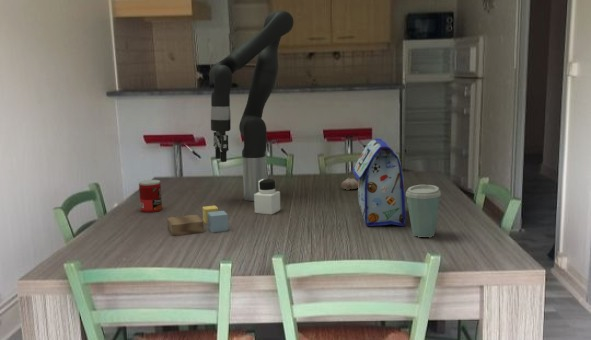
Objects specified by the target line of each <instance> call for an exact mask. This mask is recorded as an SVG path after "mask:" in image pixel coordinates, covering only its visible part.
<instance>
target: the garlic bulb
mask: <svg viewBox="0 0 591 340" xmlns="http://www.w3.org/2000/svg"><path fill="white" fill-rule="evenodd" d="M352 176H353V170H350V171H349V176H348V178H346V179H345V180H343V181H341V185H340V186H341V188H342V189H343V190H345V189H346V191H351V190H358V189H357V188H358V179H357V178H355V177H352ZM350 189H351V190H350Z"/></svg>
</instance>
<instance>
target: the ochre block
mask: <svg viewBox="0 0 591 340" xmlns="http://www.w3.org/2000/svg"><path fill="white" fill-rule="evenodd" d="M216 211H219V208H218V206H216V205H208V206H202V221H203V223H204V224H206V225H208V216H207V212H216Z"/></svg>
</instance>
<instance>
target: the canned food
mask: <svg viewBox="0 0 591 340" xmlns="http://www.w3.org/2000/svg"><path fill="white" fill-rule="evenodd" d="M138 189H139V190H138V192H139V203H140V211H142V212H143V213H156V212H159V211H162V209H163V204H162V203H163V201H162V185H161V180H158V179H146V180H145V179H144V180H140V181H139V182H138Z"/></svg>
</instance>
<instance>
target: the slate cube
mask: <svg viewBox="0 0 591 340" xmlns="http://www.w3.org/2000/svg"><path fill="white" fill-rule="evenodd" d="M207 216H208V224H207V228H208V230H209V231H210V233H213V234H214V233H221V232H228V231H229V215H228V213H227V212H226V211H225V210H218V211H216V212H207Z"/></svg>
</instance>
